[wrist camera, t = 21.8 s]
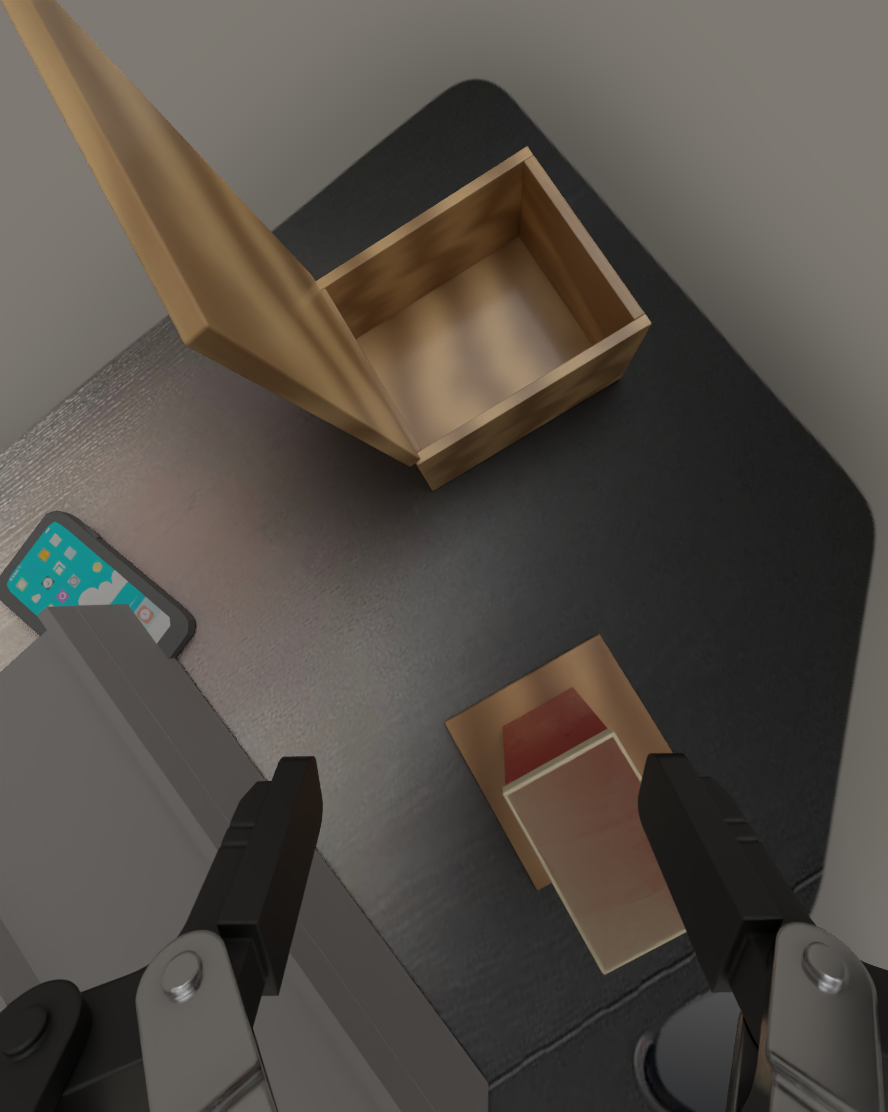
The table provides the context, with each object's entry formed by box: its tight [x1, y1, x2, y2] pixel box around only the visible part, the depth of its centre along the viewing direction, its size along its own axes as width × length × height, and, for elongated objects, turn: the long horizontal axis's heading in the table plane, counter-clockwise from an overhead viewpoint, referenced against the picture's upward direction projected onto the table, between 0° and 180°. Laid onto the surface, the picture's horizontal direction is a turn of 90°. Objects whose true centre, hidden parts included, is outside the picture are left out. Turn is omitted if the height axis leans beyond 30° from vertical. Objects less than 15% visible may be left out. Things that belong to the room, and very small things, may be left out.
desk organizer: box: [0, 604, 488, 1112], centre depth 30 cm, size 32×40×7 cm
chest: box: [316, 147, 651, 491], centre depth 31 cm, size 15×13×7 cm
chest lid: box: [0, 0, 420, 467], centre depth 20 cm, size 16×13×1 cm
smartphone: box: [0, 511, 195, 659], centre depth 35 cm, size 9×1×15 cm
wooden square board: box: [445, 634, 673, 890], centre depth 31 cm, size 12×12×1 cm
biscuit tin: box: [502, 687, 687, 975], centre depth 25 cm, size 6×8×11 cm
